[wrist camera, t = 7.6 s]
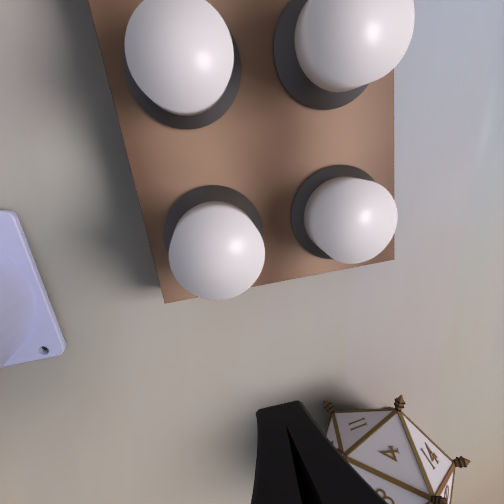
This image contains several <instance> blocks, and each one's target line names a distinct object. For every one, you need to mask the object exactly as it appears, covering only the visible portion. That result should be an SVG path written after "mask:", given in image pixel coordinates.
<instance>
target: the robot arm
mask: <svg viewBox="0 0 504 504" xmlns="http://www.w3.org/2000/svg"><path fill="white" fill-rule="evenodd" d="M42 346H44V347H47V348H48V349H49V351H45V350H43V349H42ZM65 347H66V343H65V341H64V338H63V335H62V333H61V330H60V327H59V325H58V322H57V319H56V317H55V314H54V311H53V309H52V306H51V303H50V301H49V298H48V295H47V293H46V290H45V287H44V285H43V282H42V280H41V277H40V274H39V272H38V269H37V266H36V264H35V261H34V258H33V256H32V253H31V250H30V248H29V245H28V242H27V240H26V237H25V234H24V232H23V229H22V226H21V224H20V221H19V219H18V217H17V215H16V214H15V213H14V212H12V211H10V210H0V368H1V367H5V366H10V365H15V364H20V363H25V362H30V361H35V360H40V359H45V358H50V357H55V356H58V355H60V354H62V353H63V351H64V350H65ZM256 417H257V427H258V443H257V459H256V470H255V480H254V487H253V494H252V500H251V504H388V503H387V502H386V501H385V500H384V499H383V498H382V497H381V496H380V495H379V494H378V493H377V492H376V491H375V490H374V489H373V488H372V487H371V486H370V485H369V484H368V483H367V482H366V481H365V480H364V479H363V478H362V477H361V476H360V475H359V473H358V472H357V471H356V470H355V469H354V468H353V467H352V466H351V465H350V464H349V463H348V461H347V460H346V459H345V458H344V457H343V456H342V455H341V453H340V452H339V451H338V450H337V449H336V448H335V446H334V445H333V444H332V443H331V442H330V440H329V439H328V438H327V437H326V436H325V434H324V433H323V432H322V430H321V429H320V428H319V427H318V425H317V424H316V423H315V421H314V420H313V419H312V417H311V416H310V414H309V413H308V411H307V410H306V408H305V407H304V405H303V404H302V402H300V401H298V400H297V401H293V402H289V403H284V404H280V405H276V406H271V407H267V408H262V409H259V410H258V411H257V412H256Z"/></svg>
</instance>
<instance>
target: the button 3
mask: <svg viewBox="0 0 504 504" xmlns="http://www.w3.org/2000/svg"><path fill="white" fill-rule="evenodd" d="M414 19H415V13H414V3H413V0H308V1H307V2H306V3H305V5H304V7H303V8H302V10H301V13H300V15H299V17H298V20H297V24H296V29H295V51H296V55H297V59H298V62H299V64H300V67H301V68H302V70H303V72H304V73H305V75H306V76H307V77H308V78H309V79H310V81H311V82H313V83H314V84H315V85H317V86H318V87H320V88H322V89H324V90H327V91H331V92H345V91H350V90H352V89H355V88H358V87H360V86H363V85H365V84H368V83H370V82H373V81H376V80H378V79H380V78H382V77H384V76H385V75H386V74H388V73H389V72H390V71H391V70H392V69H394V68H395V66H396V65H397V64H398V63H399V62H400V60H401V59H402V57H403V56H404V54H405V52H406V50H407V48H408V46H409V43H410V41H411V37H412V34H413V28H414Z"/></svg>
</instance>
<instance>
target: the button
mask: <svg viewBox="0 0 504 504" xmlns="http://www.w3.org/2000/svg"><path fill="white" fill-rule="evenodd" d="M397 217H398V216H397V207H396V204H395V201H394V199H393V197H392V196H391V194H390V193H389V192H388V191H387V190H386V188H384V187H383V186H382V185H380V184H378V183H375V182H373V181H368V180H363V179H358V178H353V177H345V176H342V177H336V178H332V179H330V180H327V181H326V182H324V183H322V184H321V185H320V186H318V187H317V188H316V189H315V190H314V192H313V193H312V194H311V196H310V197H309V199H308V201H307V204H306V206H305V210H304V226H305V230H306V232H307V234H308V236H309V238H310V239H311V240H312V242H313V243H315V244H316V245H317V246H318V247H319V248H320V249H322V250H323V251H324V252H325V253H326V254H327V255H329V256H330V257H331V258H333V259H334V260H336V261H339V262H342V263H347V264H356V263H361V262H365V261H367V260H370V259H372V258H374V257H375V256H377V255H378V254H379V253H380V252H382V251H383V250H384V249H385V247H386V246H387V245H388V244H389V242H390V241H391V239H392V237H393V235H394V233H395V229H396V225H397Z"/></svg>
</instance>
